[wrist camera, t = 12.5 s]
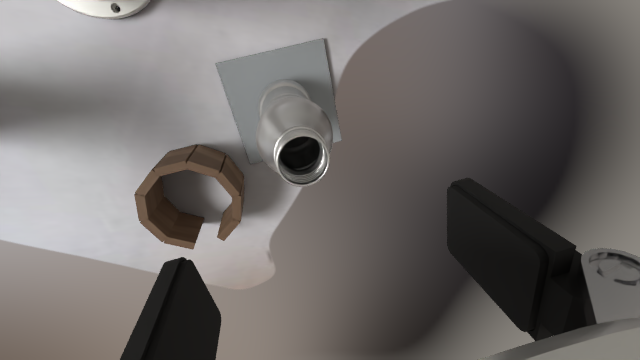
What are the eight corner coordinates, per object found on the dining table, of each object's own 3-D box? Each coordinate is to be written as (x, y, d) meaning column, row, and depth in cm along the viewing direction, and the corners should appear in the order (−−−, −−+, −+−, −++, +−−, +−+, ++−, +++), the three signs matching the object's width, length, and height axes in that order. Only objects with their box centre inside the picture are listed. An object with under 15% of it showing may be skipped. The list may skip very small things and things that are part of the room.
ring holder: (135, 159, 36) (113, 178, 31) (229, 136, 37) (223, 151, 32) (174, 231, 42) (161, 258, 36) (256, 209, 42) (254, 232, 37)
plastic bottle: (309, 77, 36) (355, 108, 18) (308, 130, 38) (347, 203, 20) (256, 76, 34) (248, 108, 17) (259, 131, 37) (255, 209, 19)
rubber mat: (216, 63, 34) (215, 63, 33) (322, 38, 34) (323, 38, 34) (250, 162, 39) (250, 164, 39) (340, 139, 40) (341, 140, 40)
